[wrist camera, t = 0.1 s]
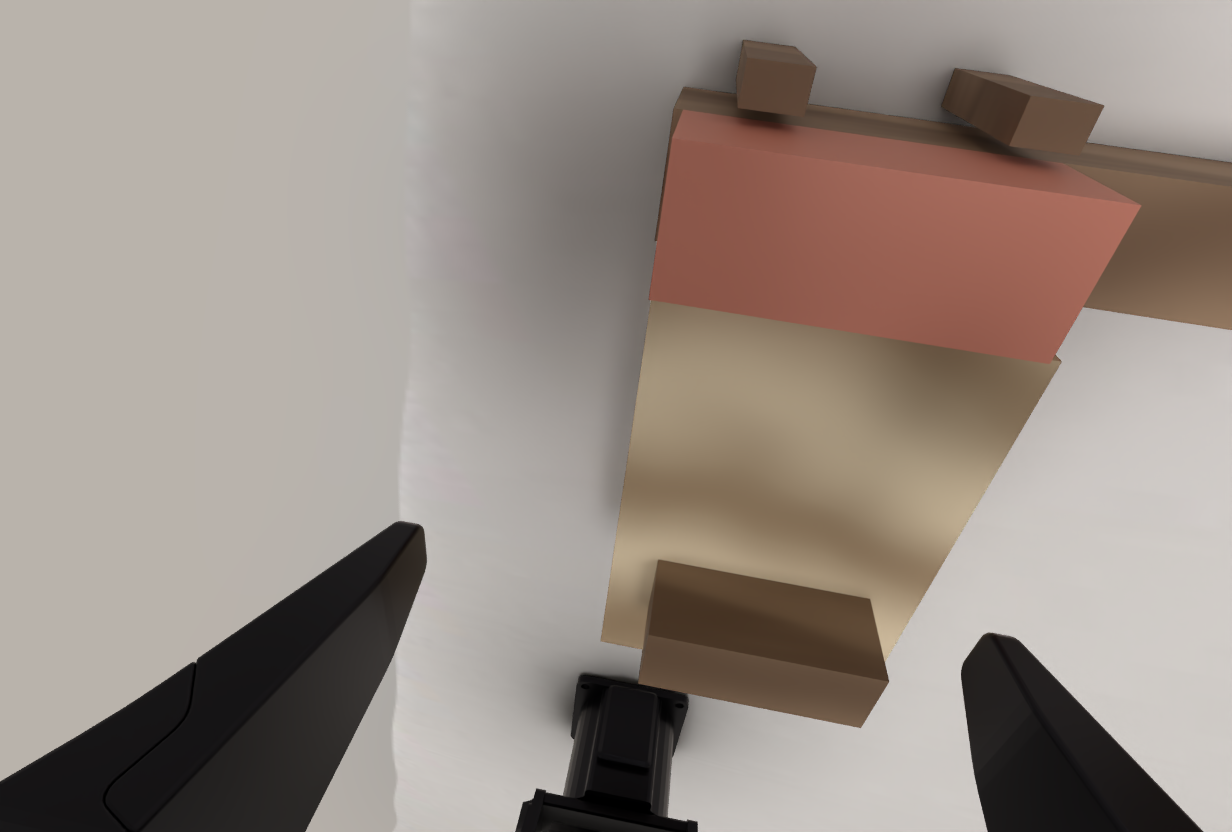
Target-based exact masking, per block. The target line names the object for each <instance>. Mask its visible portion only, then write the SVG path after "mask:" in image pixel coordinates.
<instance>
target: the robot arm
mask: <svg viewBox="0 0 1232 832" xmlns="http://www.w3.org/2000/svg"><path fill="white" fill-rule="evenodd" d="M426 564H427V555H426V544H425V534H424V529H423V527H422V526H421V525H419V524H415V523H409V522H404V521H398V522H395V523H394V524H392V525H391V526H389V527H388V528H386V529H385V530H383V531H382V532H380V533H379V534H377V535H376V536H375V537H373V538H372V539H370V540H369V541H367V542H366V543H364V544H363V545H361V546H360V547H359V548H357V549H356V550H354V551H353V552H351V553H350V554H348V555H347V556H346V557H344V558H343V559H341V560H340V561H338V562H337V563H335V564H334V565H332V566H331V567H330V568H328V569H327V570H325V571H324V572H322V573H321V574H319V575H318V576H317V577H315V578H314V579H312V580H311V581H309V582H308V583H307V584H305V585H303V586H302V587H301V588H299V589H298V590H296V591H295V592H294V593H292V594H290V595H289V596H287V597H286V598H285V599H283V600H282V601H280V602H279V603H277V604H276V605H274V606H273V607H272V608H270V609H269V610H267V611H266V612H264V613H263V614H261V615H260V616H258V617H257V618H256V619H254V620H253V621H252V622H250V623H248V624H247V625H245V626H244V627H243V628H241V629H240V630H238V631H237V632H235V633H234V634H232V635H231V636H230V637H228V638H227V639H225V640H224V641H222V642H221V643H219V644H218V645H216V646H215V647H214V648H212V649H211V650H209V651H208V652H206V653H205V654H203V655H202V656H201V657H199V658H198V659H197V662H196V663H195V662H192V663H190V664H189V665H187V666H186V667H184V668H183V669H181V670H180V671H178V672H177V673H176V674H174V675H173V676H171V677H170V678H168V679H167V680H165V681H164V682H162V683H161V684H159V685H158V686H156V687H155V688H153V689H152V690H150V691H149V692H147V693H146V694H144V695H143V696H141V697H140V698H138V699H137V700H135V701H134V702H132V703H131V704H129V705H127V706H126V707H124V708H123V709H121V710H120V711H118V712H116V713H114V714H113V715H111V716H110V717H108V718H106V719H105V720H103V721H101V722H100V723H98V724H96V725H95V726H93V727H92V728H90V729H88V730H87V731H85V732H83V733H82V734H80V735H78V736H77V737H75V738H74V739H72V740H70V741H68V742H66V743H65V744H63V745H61V746H60V747H58V748H56V749H55V750H53V751H51V752H49V753H48V754H46V755H44V756H43V757H41V758H39V759H38V760H36V761H34V762H33V763H31V764H29V765H27V766H26V767H24V768H22V769H21V770H19V771H17V772H16V773H14V774H12V775H10V776H9V777H7V778H5V779H4V780H2V781H0V832H305V831H306V829H307V827H308V825H309V823H310V821H311V819H312V817H313V815H314V813H315V811H316V809H317V807H318V805H319V803H320V801H321V799H322V797H323V795H324V793H325V792H326V790H327V787H328V785H329V784H330V782H331V780H332V778H333V776H334V774H335V771H336V769H337V768H338V766H339V764H340V762H341V760H342V758H343V756H344V754H345V752H346V750H347V748H348V746H349V744H350V742H351V740H352V738H353V736H354V734H355V732H356V730H357V728H358V726H359V724H360V722H361V720H362V718H363V716H364V714H365V712H366V710H367V708H368V706H369V704H370V702H371V700H372V698H373V696H374V694H375V692H376V690H377V688H378V686H379V685H380V683H381V681H382V679H383V677H384V675H385V672H386V671H387V668H388V666H389V664H390V662H391V660H392V658H393V655H394V653H395V650H396V648H397V645H398V643H399V640H400V637H401V635H402V632H403V629H404V627H405V624H406V621H407V618H408V616H409V613H410V610H411V608H412V605H413V602H414V600H415V597H416V594H417V592H418V589H419V586H420V584H421V581H422V578H423V575H424V573H425V569H426ZM961 680H962V688H963V695H964V703H965V711H966V718H967V726H968V733H969V741H970V748H971V756H972V763H973V769H974V775H975V780H976V784H977V789H978V794H979V798H980V802H981V806H982V810H983V814H984V818H985V823H986V827H987V831H988V832H1203V831H1202V830H1201V829H1200V828H1199V827H1198V826H1197V825H1196V823H1195V822H1194V821H1193V820H1192V819H1191V818H1190V817H1189V816H1188V815H1187V814H1186V813H1185V812H1184V811H1183V810H1182V809H1181V808H1180V807H1179V806H1178V805H1177V804H1176V803H1175V802H1174V801H1173V800H1172V799H1171V798H1170V796H1169V795H1168V794H1167V793H1166V792H1165V791H1164V790H1163V789H1162V788H1161V787H1160V786H1159V785H1158V784H1157V783H1156V782H1155V781H1154V780H1153V779H1152V778H1151V777H1150V776H1149V775H1148V774H1147V773H1146V772H1145V771H1144V769H1143V768H1142V767H1141V766H1140V765H1139V764H1138V763H1137V762H1136V761H1135V760H1134V759H1133V758H1132V757H1131V756H1130V755H1129V754H1128V753H1127V752H1126V751H1125V750H1124V749H1123V748H1122V747H1121V746H1120V745H1119V744H1118V743H1117V741H1116V740H1115V739H1114V738H1113V737H1112V736H1111V735H1110V734H1109V733H1108V732H1107V731H1106V730H1105V729H1104V728H1103V727H1102V726H1101V725H1100V724H1099V723H1098V722H1097V721H1096V720H1095V719H1094V718H1093V717H1092V716H1091V714H1090V713H1089V712H1088V711H1087V710H1086V709H1085V708H1084V707H1083V706H1082V705H1081V704H1080V703H1079V702H1078V701H1077V700H1076V699H1075V698H1074V697H1073V696H1072V695H1071V694H1070V693H1069V692H1068V691H1067V690H1066V689H1065V688H1064V686H1063V685H1062V684H1061V683H1060V682H1059V681H1058V680H1057V679H1056V678H1055V677H1054V676H1053V675H1052V674H1051V673H1050V672H1049V671H1048V670H1047V669H1046V668H1045V667H1044V666H1043V665H1042V664H1041V663H1040V662H1039V661H1038V659H1037V658H1036V657H1035V656H1034V655H1033V654H1032V653H1031V652H1030V651H1029V650H1028V649H1027V648H1026V647H1025V646H1024V645H1023V644H1022V643H1021V642H1020V641H1019V640H1017V639H1016V638H1014V637H1011V636H1006V635H1001V634H996V633H987V634H984V635H983V636H982V637H981V638H980V640H979V641H978V643H977V644H976V645H975V647H974V648H973V650H972V651H971V652H970V654H969V655H968V657H967V658H966V659H965V661H964V663H963V666H962V670H961ZM688 703H689V699H688V698H687V697H686V696H685V695H682V694H677V693H672V692H667V691H662V690H657V689H652V688H647V687H642V686H637V685H632V684H627V683H622V682H617V681H612V680H607V679H602V678H597V677H592V676H586V675H583V676H580V677H579V678H578V682H577V687H576V696H575V704H574V712H573V721H572V729H571V737H572V738H573V739H575V740H574V745H573V749H572V754H571V759H570V764H569V769H568V773H567V778H566V783H565V788H564V793H563V796H561V795H556V794H552V793H547V792H546V790H542V789H537V788H536V791H535V795H534V798H533V799H532V800H530V801H526V802H523V804H522V808H521V812H520V816H519V820H518V824H517V828H516V831H515V832H698V823H697V821H692V820H687V821H682V820H677V819H672V818H668V804H669V791H670V777H671V764H672V757H673V755H674V752H675V749H676V745H677V742H678V739H679V736H680V733H681V729H682V726H683V723H684V720H685V716H686V713H687V710H688Z"/></svg>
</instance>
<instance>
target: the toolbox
mask: <svg viewBox="0 0 1232 832" xmlns="http://www.w3.org/2000/svg"><path fill="white" fill-rule="evenodd" d="M816 68H817V67H816V66H815V65H814V64H813V63H812V62H811V61H810V60H809V59H808V58H807V57H806V56H805V55H804V54H803V53H801V52H800V51H799V50H798V49H797V48H796V47H793V46H786V45H778V44H771V43H763V42H756V41H748V40H743V44H742V49H741V54H740V60H739V65H738V70H737V75H736V90H737V94H732V93H725V92H718V91H711V90H703V89H696V88H689V87H683V89H682V91H681V94H680V96H679V98H678V100H677V102H676V104H675V106H674V109H673V116H672V123H671V130H670V137H669V144H668V151H667V158H666V165H665V172H664V179H663V186H662V193H661V200H660V207H659V214H658V221H657V228H656V235H655V241H657V239H658V232H659V225H660V218H661V211H662V204H663V197H664V190H665V184H666V177H667V170H668V163H669V156H670V149H671V142H672V137H673V134H674V132H675V129H676V127H677V124H678V121H679V119H680V116H681V114H682V111H683V110H689V111H696V112H703V113H710V114H717V115H724V116H732V117H739V118H746V119H753V120H760V121H767V122H774V123H781V124H788V125H795V126H803V127H810V128H817V129H824V130H831V131H838V132H845V133H852V134H859V135H866V136H874V137H881V138H888V139H895V140H902V141H909V142H916V143H923V144H930V145H937V146H945V147H952V148H959V149H966V150H973V151H980V152H987V153H994V154H1001V155H1008V156H1016V157H1023V158H1030V159H1037V160H1044V161H1051V162H1058V163H1063V164H1065V165H1067V166H1069V167H1071V168H1072V169H1074V170H1076V171H1078V172H1080V173H1082V174H1084V175H1086V176H1087V177H1089V178H1091V179H1093V180H1095V181H1097V182H1099V183H1101V184H1102V185H1104V186H1106V187H1108V188H1110V189H1112V190H1114V191H1116V192H1117V193H1119V194H1121V195H1123V196H1125V197H1127V198H1129V199H1131V200H1132V201H1134V202H1136V203H1138V204H1140V205H1142V206H1141V207H1140V209H1139V211H1138V212H1137V214H1136V216H1135V218H1134V219H1133V221H1132V223H1131V225H1130V226H1129V228H1128V230H1127V231H1126V233H1125V235H1124V237H1123V238H1122V240H1121V242H1120V244H1119V245H1118V247H1117V249H1116V251H1115V252H1114V254H1113V256H1112V257H1111V259H1110V261H1109V263H1108V264H1107V266H1106V268H1105V270H1104V271H1103V273H1102V275H1101V276H1100V278H1099V280H1098V282H1097V283H1096V285H1095V287H1094V289H1093V290H1092V292H1091V294H1090V296H1089V297H1088V299H1087V301H1086V302H1085V304H1084V306H1083V307H1086V308H1092V309H1099V310H1105V311H1112V312H1118V313H1125V314H1131V315H1138V316H1144V317H1151V318H1157V319H1164V320H1170V321H1176V322H1183V323H1189V324H1196V325H1202V326H1209V327H1215V328H1222V329H1228V330H1232V163H1230V162H1223V161H1216V160H1209V159H1201V158H1194V157H1187V156H1180V155H1173V154H1165V153H1158V152H1151V151H1144V150H1136V149H1129V148H1122V147H1115V146H1108V145H1100V144H1093V143H1086V141H1087V139H1088V137H1089V135H1090V133H1091V131H1092V129H1093V127H1094V125H1095V123H1096V121H1097V119H1098V117H1099V115H1100V113H1101V111H1102V109H1103V107H1104V105H1101V104H1098V103H1095V102H1091V101H1088V100H1085V99H1082V98H1079V97H1076V96H1073V95H1070V94H1066V93H1063V92H1060V91H1057V90H1054V89H1051V88H1048V87H1045V86H1041V85H1038V84H1035V83H1032V82H1029V81H1026V80H1023V79H1020V78H1016V77H1013V76H1010V75H1004V74H996V73H989V72H981V71H974V70H966V69H959V68H955V70H954V73H953V75H952V78H951V81H950V84H949V86H948V89H947V92H946V95H945V97H944V100H943V103H942V106H941V107H942V108H944V109H946V110H947V111H949V112H951V113H953V114H954V115H956V116H958V117H960V118H961V119H963V120H965V121H967V122H968V123H970V124H972V125H974V126H975V127H970V126H963V125H956V124H949V123H942V122H934V121H927V120H920V119H913V118H906V117H898V116H891V115H884V114H877V113H869V112H862V111H855V110H848V109H841V108H833V107H826V106H819V105H812V104H808V100H809V96H810V92H811V88H812V84H813V80H814V76H815V72H816Z"/></svg>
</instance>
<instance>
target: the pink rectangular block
mask: <svg viewBox="0 0 1232 832" xmlns="http://www.w3.org/2000/svg"><path fill="white" fill-rule="evenodd" d="M1141 206H1142V205H1140V204H1138V203H1136V202H1134V201H1132V200H1131V199H1129V198H1127V197H1125V196H1123V195H1121V194H1119V193H1117V192H1116V191H1114V190H1112V189H1110V188H1108V187H1106V186H1104V185H1102V184H1101V183H1099V182H1097V181H1095V180H1093V179H1091V178H1089V177H1087V176H1086V175H1084V174H1082V173H1080V172H1078V171H1076V170H1074V169H1072V168H1071V167H1069V166H1067V165H1065V164H1063V163H1058V162H1051V161H1044V160H1037V159H1030V158H1023V157H1016V156H1008V155H1001V154H994V153H987V152H980V151H973V150H966V149H959V148H952V147H945V146H937V145H930V144H923V143H916V142H909V141H902V140H895V139H888V138H881V137H874V136H866V135H859V134H852V133H845V132H838V131H831V130H824V129H817V128H810V127H803V126H795V125H788V124H781V123H774V122H767V121H760V120H753V119H746V118H739V117H732V116H724V115H717V114H710V113H703V112H696V111H689V110H683V111H682V114H681V116H680V119H679V121H678V124H677V127H676V129H675V132H674V134H673V137H672V142H671V149H670V156H669V163H668V170H667V177H666V184H665V190H664V197H663V204H662V211H661V218H660V225H659V232H658V239H657V246H656V252H655V259H654V266H653V273H652V280H651V287H650V294H649V300H653V301H659V302H666V303H672V304H678V305H684V306H691V307H697V308H703V309H709V310H715V311H722V312H728V313H734V314H740V315H747V316H753V317H759V318H765V319H772V320H778V321H784V322H790V323H796V324H803V325H809V326H815V327H821V328H828V329H834V330H840V331H846V332H852V333H859V334H865V335H871V336H877V337H884V338H890V339H896V340H902V341H909V342H915V343H921V344H927V345H933V346H940V347H946V348H952V349H958V350H965V351H971V352H977V353H983V354H990V355H996V356H1002V357H1008V358H1014V359H1021V360H1027V361H1033V362H1039V363H1046V364H1050V363H1051V361H1052V360H1053V358H1054V356H1055V354H1056V353H1057V351H1058V349H1059V347H1060V346H1061V344H1062V342H1063V340H1064V339H1065V337H1066V335H1067V334H1068V332H1069V330H1070V328H1071V327H1072V325H1073V323H1074V321H1075V320H1076V318H1077V316H1078V315H1079V313H1080V311H1081V309H1082V308H1083V306H1084V304H1085V302H1086V301H1087V299H1088V297H1089V296H1090V294H1091V292H1092V290H1093V289H1094V287H1095V285H1096V283H1097V282H1098V280H1099V278H1100V276H1101V275H1102V273H1103V271H1104V270H1105V268H1106V266H1107V264H1108V263H1109V261H1110V259H1111V257H1112V256H1113V254H1114V252H1115V251H1116V249H1117V247H1118V245H1119V244H1120V242H1121V240H1122V238H1123V237H1124V235H1125V233H1126V231H1127V230H1128V228H1129V226H1130V225H1131V223H1132V221H1133V219H1134V218H1135V216H1136V214H1137V212H1138V211H1139V209H1140V207H1141Z"/></svg>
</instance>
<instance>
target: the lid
mask: <svg viewBox="0 0 1232 832" xmlns="http://www.w3.org/2000/svg"><path fill="white" fill-rule="evenodd" d="M1061 362H1062V361H1061V360H1060V359H1059V358H1058V357H1057V356H1056V355H1055V356H1054V358H1053V360H1052V361H1051V363H1050V364H1046V363H1039V362H1033V361H1027V360H1021V359H1014V358H1008V357H1002V356H996V355H990V354H983V353H977V352H971V351H965V350H958V349H952V348H946V347H940V346H933V345H927V344H921V343H915V342H909V341H902V340H896V339H890V338H884V337H877V336H871V335H865V334H859V333H852V332H846V331H840V330H834V329H828V328H821V327H815V326H809V325H803V324H796V323H790V322H784V321H778V320H772V319H765V318H759V317H753V316H747V315H740V314H734V313H728V312H722V311H715V310H709V309H703V308H697V307H691V306H684V305H678V304H672V303H666V302H659V301H653V300H651V303H650V310H649V316H648V323H647V330H646V337H645V344H644V350H643V357H642V364H641V371H640V377H639V384H638V391H637V398H636V404H635V411H634V418H633V425H632V432H631V438H630V445H629V452H628V459H627V465H626V472H625V479H624V486H623V493H622V499H621V506H620V513H619V520H618V526H617V533H616V540H615V547H614V553H613V560H612V567H611V574H610V581H609V587H608V594H607V601H606V608H605V614H604V621H603V628H602V635H601V641H602V642H607V643H612V644H617V645H622V646H628V647H633V648H638V649H643V650H642V657H641V665H640V673H639V680H638V684H643V685H648V686H653V687H658V688H663V689H668V690H673V691H678V692H683V693H688V694H693V695H698V696H703V697H708V698H713V699H718V700H723V701H728V702H733V703H738V704H743V705H748V706H753V707H758V708H763V709H768V710H773V711H778V712H783V713H788V714H793V715H798V716H803V717H808V718H813V719H818V720H823V721H828V722H833V723H838V724H843V725H848V726H853V727H858V728H861V727H862V725H863V724H864V722H865V720H866V719H867V717H868V715H869V714H870V712H871V710H872V709H873V707H874V706H875V704H876V702H877V701H878V699H879V697H880V696H881V694H882V693H883V691H884V689H885V688H886V686H887V684H888V683H889V679H888V675H887V670H886V666H885V661H886V659H887V658H888V656H889V654H890V652H891V651H892V649H893V647H894V646H895V644H896V642H897V641H898V639H899V637H900V635H901V634H902V632H903V630H904V629H905V627H906V625H907V624H908V622H909V620H910V618H911V617H912V615H913V613H914V612H915V610H916V608H917V607H918V605H919V603H920V601H921V600H922V598H923V596H924V595H925V593H926V591H927V590H928V588H929V586H930V584H931V583H932V581H933V579H934V578H935V576H936V574H937V573H938V571H939V569H940V568H941V566H942V564H943V562H944V561H945V559H946V557H947V556H948V554H949V552H950V551H951V549H952V547H953V545H954V544H955V542H956V540H957V539H958V537H959V535H960V534H961V532H962V530H963V528H964V527H965V525H966V523H967V522H968V520H969V518H970V517H971V515H972V513H973V511H974V510H975V508H976V506H977V505H978V503H979V501H980V500H981V498H982V496H983V495H984V493H985V491H986V489H987V488H988V486H989V484H990V483H991V481H992V479H993V478H994V476H995V474H996V472H997V471H998V469H999V467H1000V466H1001V464H1002V462H1003V461H1004V459H1005V457H1006V455H1007V454H1008V452H1009V450H1010V449H1011V447H1012V445H1013V444H1014V442H1015V440H1016V438H1017V437H1018V435H1019V433H1020V432H1021V430H1022V428H1023V427H1024V425H1025V423H1026V421H1027V420H1028V418H1029V416H1030V415H1031V413H1032V411H1033V410H1034V408H1035V406H1036V405H1037V403H1038V401H1039V399H1040V398H1041V396H1042V394H1043V393H1044V391H1045V389H1046V388H1047V386H1048V384H1049V382H1050V381H1051V379H1052V377H1053V376H1054V374H1055V372H1056V371H1057V369H1058V367H1059V365H1060V364H1061Z"/></svg>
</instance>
